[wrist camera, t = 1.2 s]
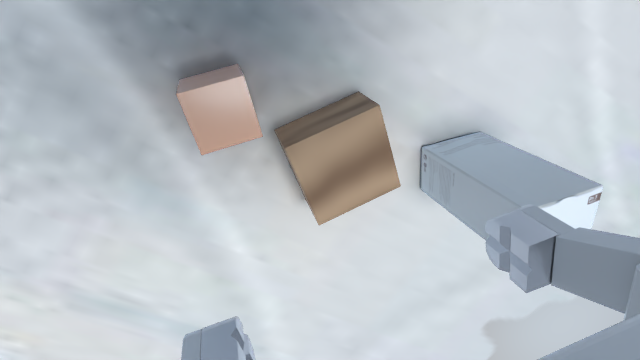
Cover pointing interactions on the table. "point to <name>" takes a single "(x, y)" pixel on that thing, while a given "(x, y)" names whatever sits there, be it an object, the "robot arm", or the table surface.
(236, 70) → the terracotta cube
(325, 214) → the walnut block
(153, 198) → the table surface
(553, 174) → the skincare box
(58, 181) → the table surface
